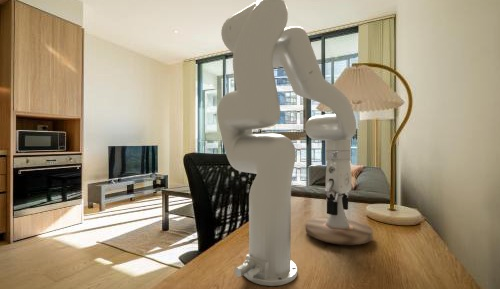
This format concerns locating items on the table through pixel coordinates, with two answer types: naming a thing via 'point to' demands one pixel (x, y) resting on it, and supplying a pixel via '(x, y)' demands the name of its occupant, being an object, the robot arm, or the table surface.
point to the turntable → (339, 232)
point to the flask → (338, 217)
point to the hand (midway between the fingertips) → (337, 211)
